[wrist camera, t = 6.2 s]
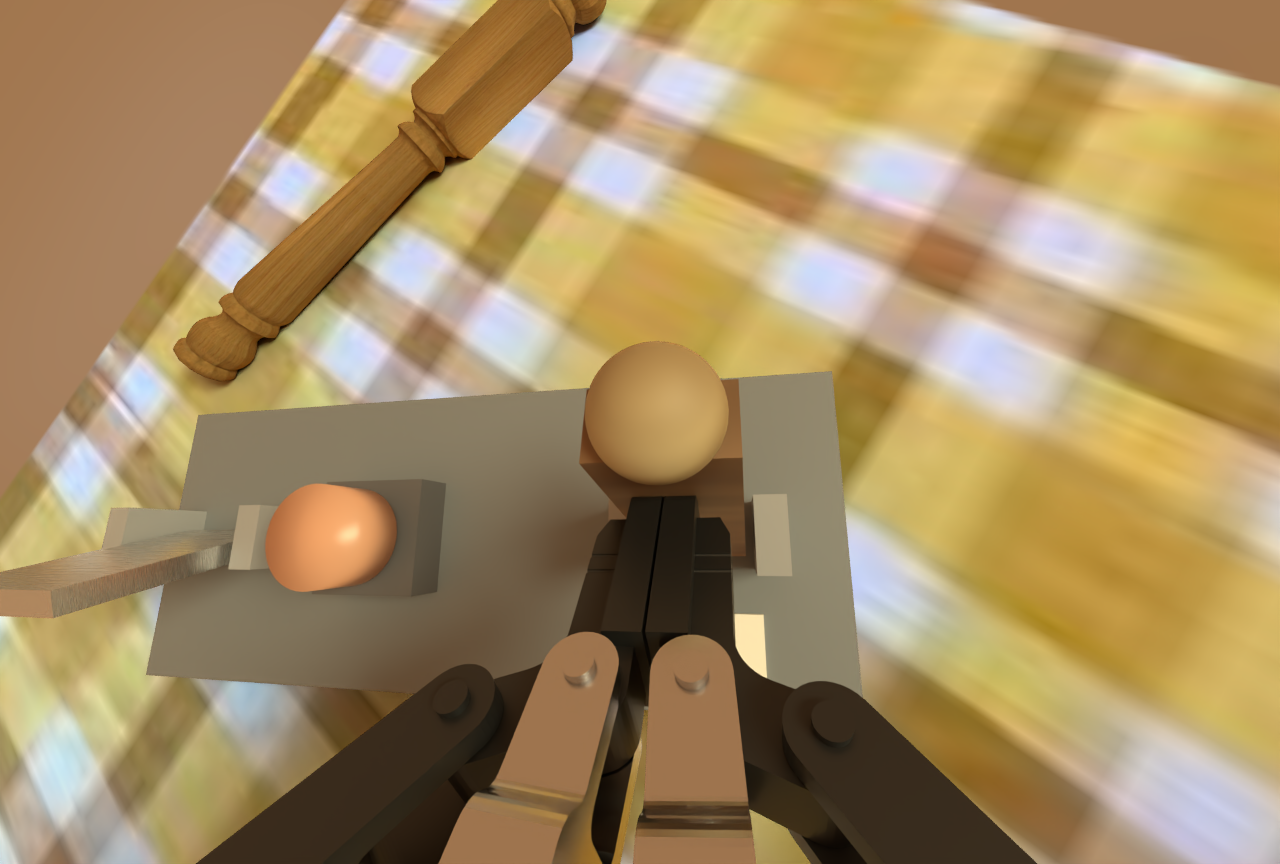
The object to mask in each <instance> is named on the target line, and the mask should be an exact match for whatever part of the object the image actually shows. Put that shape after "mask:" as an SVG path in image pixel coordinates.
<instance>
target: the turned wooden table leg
mask: <svg viewBox="0 0 1280 864" xmlns="http://www.w3.org/2000/svg"><path fill="white" fill-rule="evenodd" d="M605 5H606V0H498V1H497V2H496V3H495V4H494V5H493V6H492V7H491V8H490V9H489V10H488V11H487V12H486V13H485V14H484V15H483V16H481V17H480V18H479V19H478V20H477V21H476V22H475V23H474V24H473V25H472V26H471V27H470V28H469V29H468V30H467V31H466V32H465V33H464V34H463V35H462V36H461V37H460V38H459V39H458V40H457V41H456V42H455V43H454V44H453V45H452V46H451V47H450V48H449V49H448V50H447V51H446V52H445V53H444V54H443V55H442V56H441V57H440V58H439V59H438V60H437V61H436V62H435V63H434V64H433V65H432V66H431V67H430V68H429V69H428V70H427V71H426V72H425V73H424V74H423V75H422V76H421V77H420V78H419V79H418V80H417V81H416V82H415V83H414V84H413V85H412V89H411V93H412V99H413V103H414V105H415V107H416V109H415V110H414V111H413V113H414V115H415V120H414V123H413V122H403V123H401V124H399V125H398V128H399V136H398V137H397V139H396V140H395V141H393V142H392V143H391V144H390V145H389V146H388V147H387V148H386V149H385V150H383V151H382V152H381V153H380V154H379V155H378V156H377V157H376V158H375V159H373V160H372V161H371V162H370V163H369V164H368V165H367V166H366V167H365V168H363V169H362V170H361V171H360V172H359V173H358V174H357V175H356V176H355V177H353V178H352V179H351V180H350V181H349V182H348V183H347V184H346V185H345V186H343V187H342V188H341V189H340V190H339V191H338V192H337V193H336V194H335V195H333V196H332V197H331V198H330V199H329V200H328V201H327V202H326V203H325V204H323V205H322V206H321V207H320V208H319V209H318V210H317V211H316V212H315V213H313V214H312V215H311V216H310V217H309V218H308V219H307V220H306V221H305V222H303V223H302V224H301V225H300V226H299V227H298V228H297V229H296V230H295V231H293V232H292V233H291V234H290V235H289V236H288V237H287V238H286V239H285V240H283V241H282V242H281V243H280V244H279V245H278V246H277V247H276V248H275V249H273V250H272V251H271V252H270V253H269V254H268V255H267V256H266V257H265V258H263V259H262V260H261V261H260V262H259V263H258V264H257V265H256V266H255V267H253V268H252V269H251V270H250V271H249V272H248V273H247V274H246V275H245V276H243V277H242V278H241V279H240V280H239V281H238V283H237V284H236V286H235V288H234V291H233V293H229V294H227V295H225V296H223V297H222V298H221V299H220V301H219V304H220V305H221V307H222V309H223V311H222V313H221V314H220V315H218V316H214V317H207V318H204V319H201V320H199V321H198V322H196V323H195V324H194V325H193V326H192V328H191V329H190V331H189V332H188V334H187V337H186V338H182V339H179V340H178V342H177V343H176V344H175V346H174V348H173V350H174V352H175V354H176V355H177V357H178V359H179V360H180V361H181V362H182V363H183V364H185V365H186V366H187V367H188V368H189V369H191V370H193V371H194V372H196V373H198V374H200V375H202V376H204V377H207V378H210V379H213V380H217V381H227V380H232V379H234V378H235V377H236V374H237V369H241V368H243V367H245V366H247V365H248V364H250V363H251V361H252V360H253V359H254V356H255V354H256V350H257V342H258V340H259V339H261V338H263V337H266V338H276V336H277V335H278V333H279V329H280V326H283V325H287V324H289V323H290V322H292V321H293V320H294V319H295V318H296V316H297V315H298V314H299V313H300V312H301V311H302V310H303V309H304V308H305V307H306V306H307V305H308V304H309V302H310V301H311V300H312V299H313V298H314V297H315V296H316V295H317V294H318V293H319V292H320V291H321V289H322V288H323V287H324V286H325V285H326V284H327V283H328V282H329V281H330V280H331V279H332V278H333V277H334V275H335V274H336V273H337V272H338V271H339V270H340V269H341V268H342V267H343V266H344V265H345V264H346V262H347V261H348V260H349V259H350V258H351V257H352V256H353V255H354V254H355V253H356V252H357V251H358V250H359V248H360V247H361V246H362V245H363V244H364V243H365V242H366V241H367V240H368V239H369V238H370V237H371V236H372V234H373V233H374V232H375V231H376V230H377V229H378V228H379V227H380V226H381V225H382V224H383V223H384V221H385V220H386V219H387V218H388V217H389V216H390V215H391V214H392V213H393V212H394V211H395V210H396V209H397V207H398V206H399V205H400V204H401V203H402V202H403V201H404V200H405V199H406V198H407V197H408V196H409V195H410V193H411V192H412V191H413V190H414V189H415V188H416V187H417V186H418V185H419V184H420V183H421V182H422V180H423V179H424V178H425V177H426V176H427V175H428V174H429V173H430V172H432V171H438V172H440V173H441V172H442V170H443V169H444V166H445V157H446V156H451V157H453V158H456V157H457V156H459V157H461V158H464V159H472V158H473V157H474V156H475V155H476V154H477V153H478V152H479V151H480V150H481V149H482V148H483V147H484V146H486V145H487V144H488V143H489V142H490V141H491V140H492V139H493V138H494V137H495V136H496V135H497V134H498V133H499V132H500V131H501V130H502V129H503V128H504V127H505V126H506V125H507V124H508V123H509V122H510V121H511V120H512V119H513V118H514V117H515V116H516V115H517V114H518V113H519V112H520V111H521V110H522V109H523V108H524V107H525V106H526V105H527V104H528V103H529V102H530V101H531V100H532V99H533V98H534V97H536V96H537V95H538V94H539V93H540V92H541V91H542V90H543V89H544V88H545V87H546V86H547V85H548V84H549V83H550V82H551V81H552V80H553V79H554V78H555V77H556V76H557V75H558V74H559V73H560V72H561V71H562V70H563V69H564V68H565V67H566V66H567V65H568V64H569V63H570V62H571V61H572V58H573V51H572V40H571V38H572V37H573V36H574V25H575V22H576V23H578V24H582V25H585V24H589V23H591V22H592V21H594V20H595V19H596V18H598V17H599V16H600V15H601V14H602V12H603V10H604V8H605Z"/></svg>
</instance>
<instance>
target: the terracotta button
mask: <svg viewBox="0 0 1280 864" xmlns="http://www.w3.org/2000/svg"><path fill="white" fill-rule="evenodd" d="M396 537H397V524H396V519H395V515H394V512H393V510H392V508H391V506H390V504H389V503H388V502H387V501H386V499H385V498H384V497H382V496H381V495H380V494H378V493H376V492H374V491H371V490H367V489H359V488H351V487H344V486H336V485H328V484H310V485H306V486H304V487H301V488H299V489H297V490H296V491H294V492H293V493H291V494H290V495H289V496H288V497H287V498H286V499H284V501H283V502H282V503H281V504H280V505H279V507H278V508H277V510H276V511H275V513H274V515H273V517H272V519H271V521H270V524H269V527H268V530H267V535H266V542H265V552H266V559H267V563H268V566H269V569H270V571H271V573H272V575H273V576H274V577H275V579H276V580H277V581H278V582H279V583H280V584H281V585H283V586H284V587H286V588H288V589H290V590H293V591H298V592H308V591H316V590H324V589H332V588H340V587H348V586H355V585H360V584H363V583H365V582H367V581H369V580H371V579H372V578H374V577H375V576H376V575H377V574H378V573H379V572H381V570H382V569H383V568H384V567H385V565H386V564H387V562H388V561H389V559H390V557H391V555H392V552H393V550H394V547H395V543H396Z"/></svg>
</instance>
